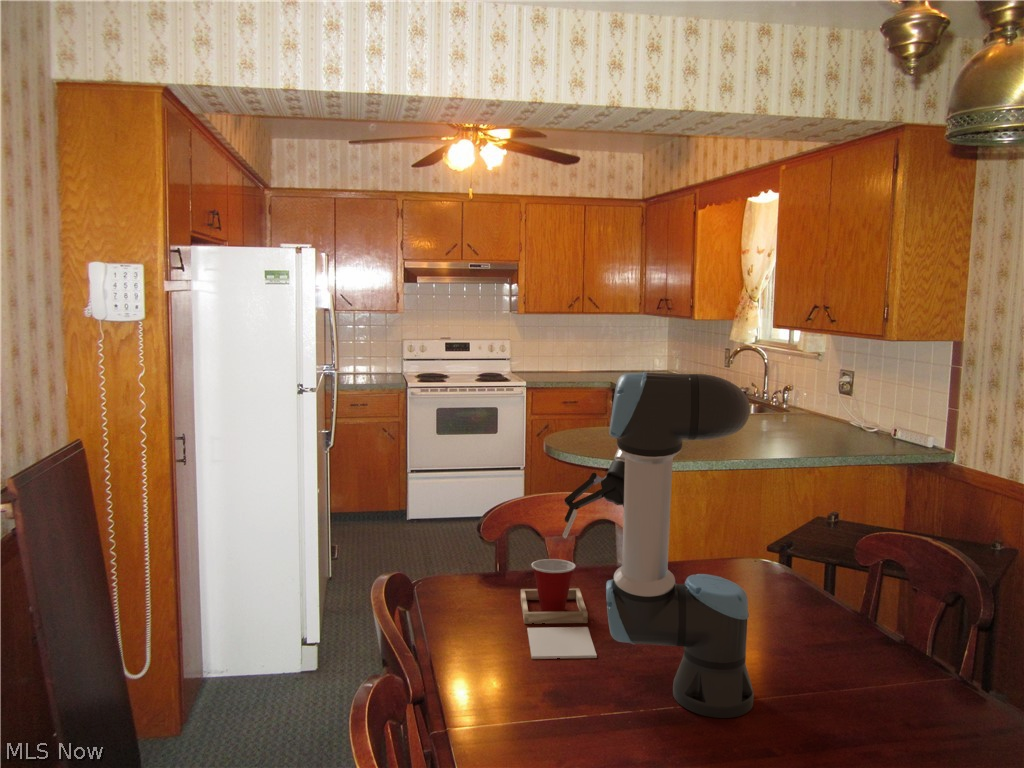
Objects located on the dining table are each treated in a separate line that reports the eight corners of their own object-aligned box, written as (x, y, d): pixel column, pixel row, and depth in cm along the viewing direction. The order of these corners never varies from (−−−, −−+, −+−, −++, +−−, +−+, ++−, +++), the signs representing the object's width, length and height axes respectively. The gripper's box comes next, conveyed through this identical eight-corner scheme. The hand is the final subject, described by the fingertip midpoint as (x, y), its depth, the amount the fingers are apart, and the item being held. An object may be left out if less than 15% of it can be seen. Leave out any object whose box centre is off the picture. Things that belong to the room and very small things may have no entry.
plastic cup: (575, 602, 197) (576, 556, 195) (574, 620, 186) (575, 572, 184) (532, 600, 198) (532, 554, 196) (529, 618, 187) (529, 570, 186)
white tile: (596, 657, 167) (596, 655, 167) (531, 658, 167) (531, 656, 167) (587, 629, 181) (587, 626, 181) (527, 630, 181) (527, 627, 181)
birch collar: (587, 622, 185) (587, 612, 184) (524, 623, 184) (524, 613, 184) (579, 597, 200) (579, 588, 199) (520, 598, 199) (520, 589, 199)
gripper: (676, 491, 183) (642, 575, 177) (579, 451, 190) (543, 530, 184) (679, 483, 177) (644, 569, 170) (578, 441, 183) (540, 523, 177)
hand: (591, 549), depth 177 cm, fingers open, 13 cm apart
